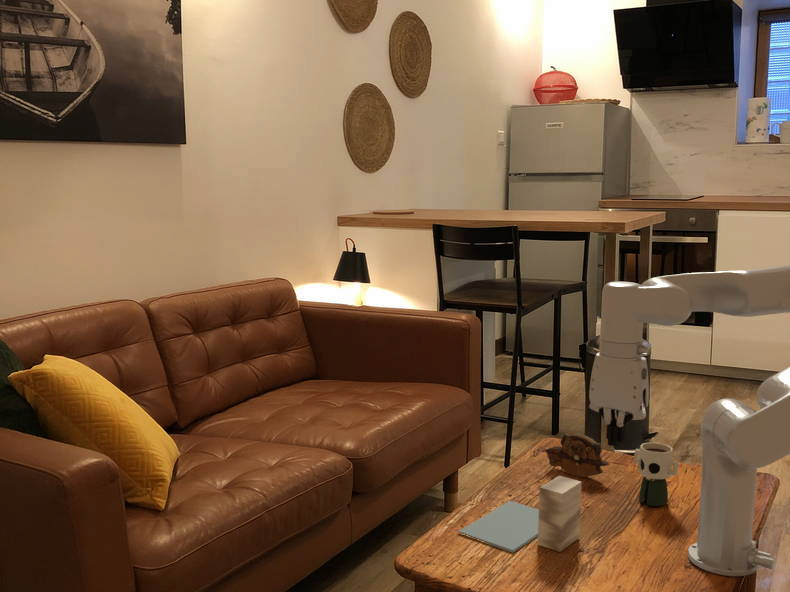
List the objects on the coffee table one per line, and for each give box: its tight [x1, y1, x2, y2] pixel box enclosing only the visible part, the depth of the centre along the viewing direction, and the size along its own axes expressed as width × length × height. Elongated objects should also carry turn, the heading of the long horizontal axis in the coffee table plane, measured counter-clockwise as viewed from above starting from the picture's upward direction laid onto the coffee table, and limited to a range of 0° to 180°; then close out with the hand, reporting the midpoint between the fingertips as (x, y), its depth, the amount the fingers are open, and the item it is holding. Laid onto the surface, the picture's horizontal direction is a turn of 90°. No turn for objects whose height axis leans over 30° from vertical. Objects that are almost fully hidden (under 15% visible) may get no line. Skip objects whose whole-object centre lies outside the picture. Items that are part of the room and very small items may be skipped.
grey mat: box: [457, 500, 539, 554], centre depth 171 cm, size 13×20×1 cm, turn 141°
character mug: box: [633, 442, 679, 507], centre depth 182 cm, size 11×7×13 cm, turn 38°
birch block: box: [537, 475, 582, 553], centre depth 163 cm, size 5×8×12 cm, turn 141°
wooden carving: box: [545, 433, 611, 478], centre depth 199 cm, size 16×5×10 cm, turn 53°
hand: (615, 444), depth 154 cm, fingers closed
